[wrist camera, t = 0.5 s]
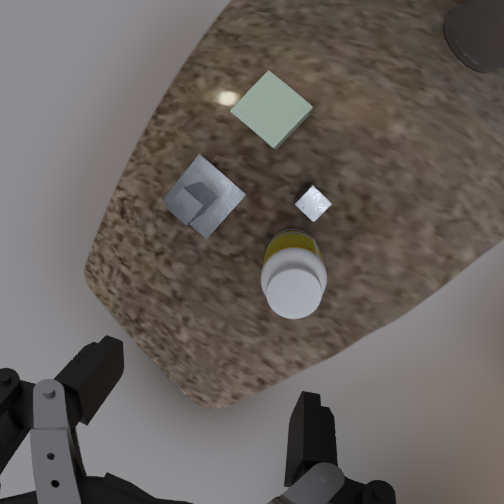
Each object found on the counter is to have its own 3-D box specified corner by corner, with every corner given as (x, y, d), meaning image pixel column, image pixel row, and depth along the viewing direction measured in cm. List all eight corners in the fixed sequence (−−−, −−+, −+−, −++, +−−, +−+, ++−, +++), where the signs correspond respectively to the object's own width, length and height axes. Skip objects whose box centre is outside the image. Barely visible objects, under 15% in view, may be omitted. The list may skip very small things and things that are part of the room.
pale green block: (272, 86, 30) (268, 70, 24) (308, 116, 31) (312, 107, 25) (241, 119, 32) (229, 111, 26) (276, 149, 32) (273, 148, 26)
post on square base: (200, 153, 33) (179, 154, 27) (246, 194, 34) (236, 203, 28) (164, 199, 36) (138, 210, 29) (207, 238, 36) (189, 257, 30)
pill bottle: (255, 251, 36) (241, 291, 26) (295, 216, 34) (297, 243, 24) (290, 288, 37) (289, 339, 27) (330, 255, 35) (345, 297, 25)
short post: (310, 182, 33) (313, 185, 29) (326, 198, 33) (331, 203, 30) (294, 198, 34) (294, 204, 30) (310, 214, 34) (313, 222, 30)
